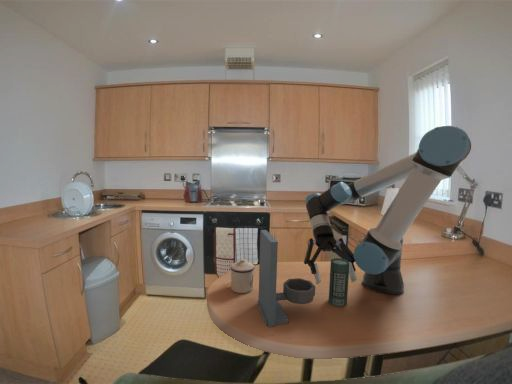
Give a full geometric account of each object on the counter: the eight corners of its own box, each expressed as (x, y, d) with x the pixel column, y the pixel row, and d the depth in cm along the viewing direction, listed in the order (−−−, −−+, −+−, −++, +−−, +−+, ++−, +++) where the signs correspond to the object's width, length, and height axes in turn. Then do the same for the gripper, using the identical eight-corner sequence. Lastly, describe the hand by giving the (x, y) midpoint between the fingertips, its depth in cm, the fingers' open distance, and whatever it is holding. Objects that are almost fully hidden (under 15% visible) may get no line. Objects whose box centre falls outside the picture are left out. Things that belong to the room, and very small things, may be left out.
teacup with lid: (255, 293, 99) (256, 263, 98) (231, 295, 98) (232, 264, 96) (250, 279, 111) (250, 252, 110) (228, 280, 109) (228, 253, 108)
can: (345, 299, 97) (348, 259, 95) (347, 307, 91) (350, 265, 89) (328, 296, 98) (330, 257, 96) (329, 305, 92) (331, 263, 91)
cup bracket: (303, 298, 96) (306, 228, 93) (320, 321, 82) (325, 240, 80) (257, 302, 92) (258, 230, 90) (266, 327, 79) (269, 242, 76)
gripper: (345, 232, 111) (363, 283, 99) (289, 233, 106) (299, 287, 93) (354, 223, 105) (374, 276, 93) (294, 223, 100) (307, 279, 87)
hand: (336, 282), depth 93 cm, fingers open, 13 cm apart
